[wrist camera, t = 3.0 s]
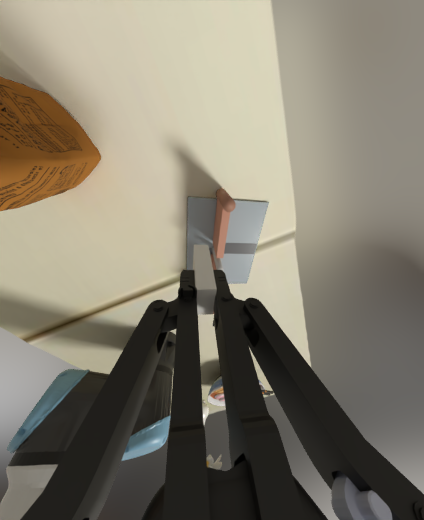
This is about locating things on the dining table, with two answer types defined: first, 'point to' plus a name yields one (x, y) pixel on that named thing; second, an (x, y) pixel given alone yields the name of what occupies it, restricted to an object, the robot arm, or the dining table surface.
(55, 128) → the coffee package
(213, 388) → the ramen bowl
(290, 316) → the dining table surface
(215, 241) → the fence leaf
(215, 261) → the panel
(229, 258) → the card
